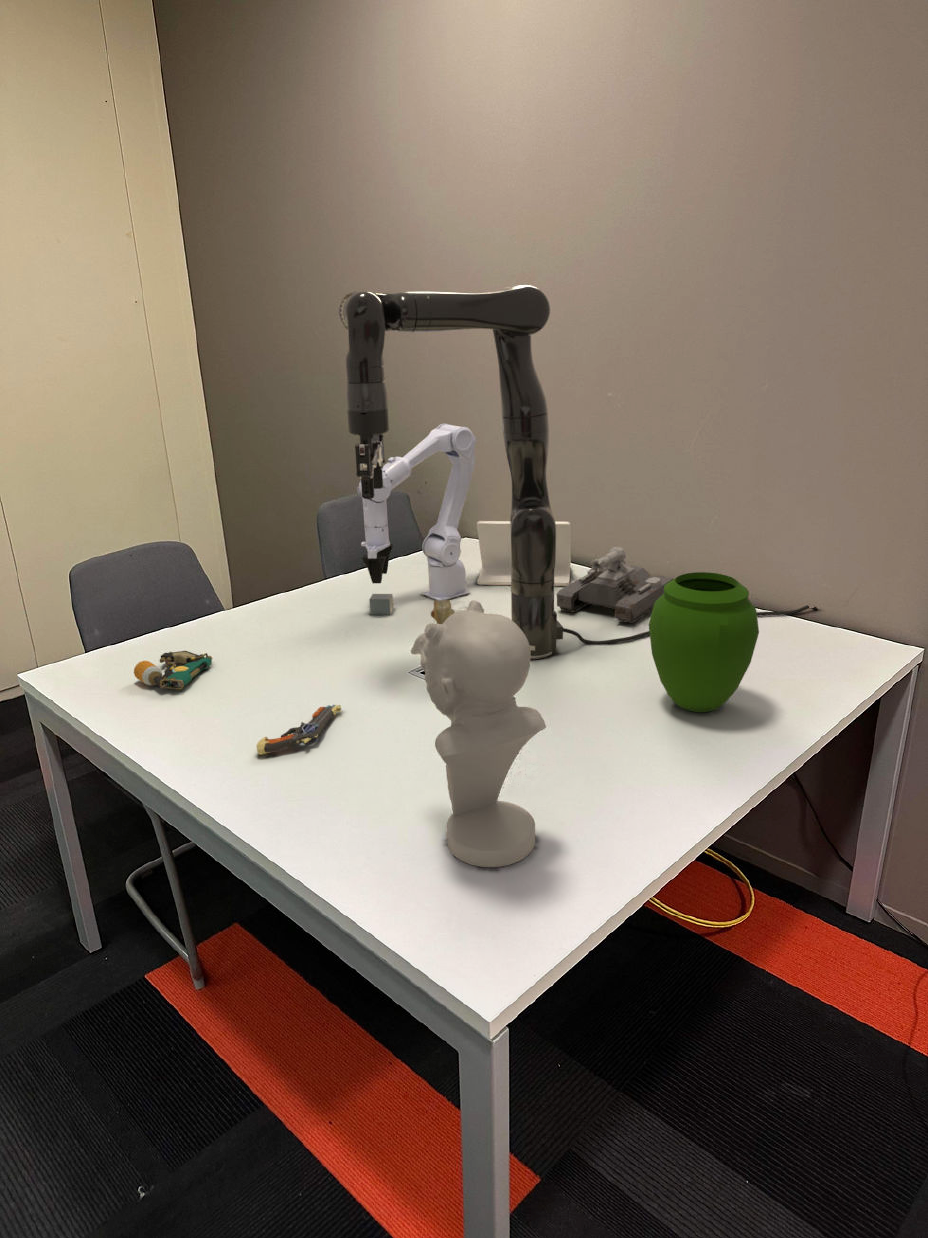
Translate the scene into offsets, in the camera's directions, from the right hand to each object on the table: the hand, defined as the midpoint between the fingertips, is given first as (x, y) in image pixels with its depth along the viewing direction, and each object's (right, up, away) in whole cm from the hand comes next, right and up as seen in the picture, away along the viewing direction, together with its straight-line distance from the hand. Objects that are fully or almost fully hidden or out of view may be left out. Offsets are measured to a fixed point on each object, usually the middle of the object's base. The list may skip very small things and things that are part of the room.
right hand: (373, 493), depth 164 cm
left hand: (-4, -14, +49) cm, 51 cm away
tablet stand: (+35, -12, +75) cm, 84 cm away
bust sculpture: (+18, -56, -39) cm, 70 cm away
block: (-3, -22, +51) cm, 56 cm away
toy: (+56, -21, +51) cm, 78 cm away
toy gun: (-12, -45, -9) cm, 48 cm away
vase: (+62, -40, -2) cm, 74 cm away
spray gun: (-43, -36, +17) cm, 59 cm away
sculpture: (+14, -35, +16) cm, 41 cm away
